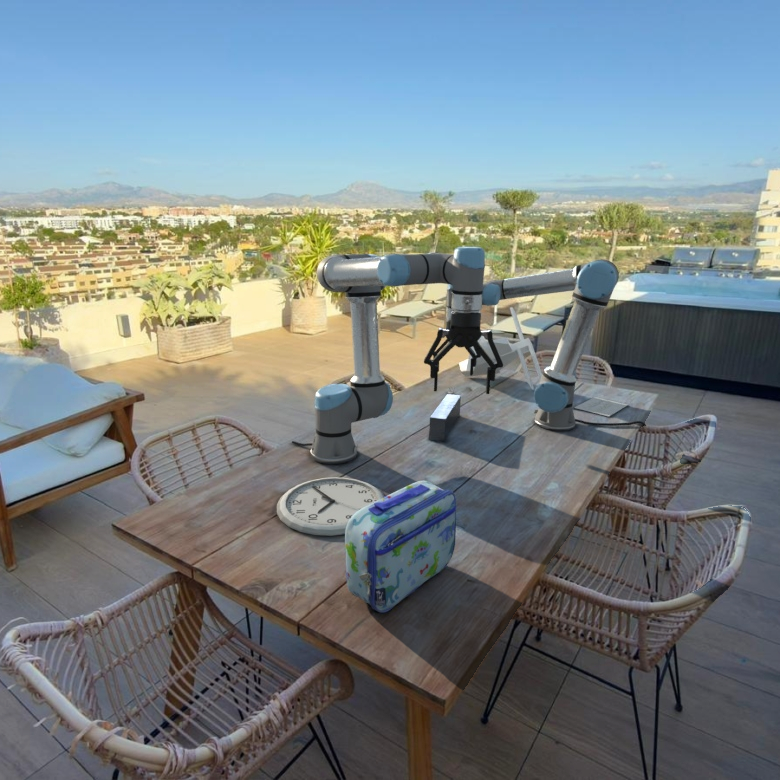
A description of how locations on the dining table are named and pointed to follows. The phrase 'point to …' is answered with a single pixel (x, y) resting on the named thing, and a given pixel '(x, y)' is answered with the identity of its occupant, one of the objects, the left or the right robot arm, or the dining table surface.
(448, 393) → the fork
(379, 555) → the lunch box
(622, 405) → the invitation card
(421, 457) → the dining table surface
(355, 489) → the wall clock
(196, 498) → the dining table surface
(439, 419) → the bar
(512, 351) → the white plastic object
